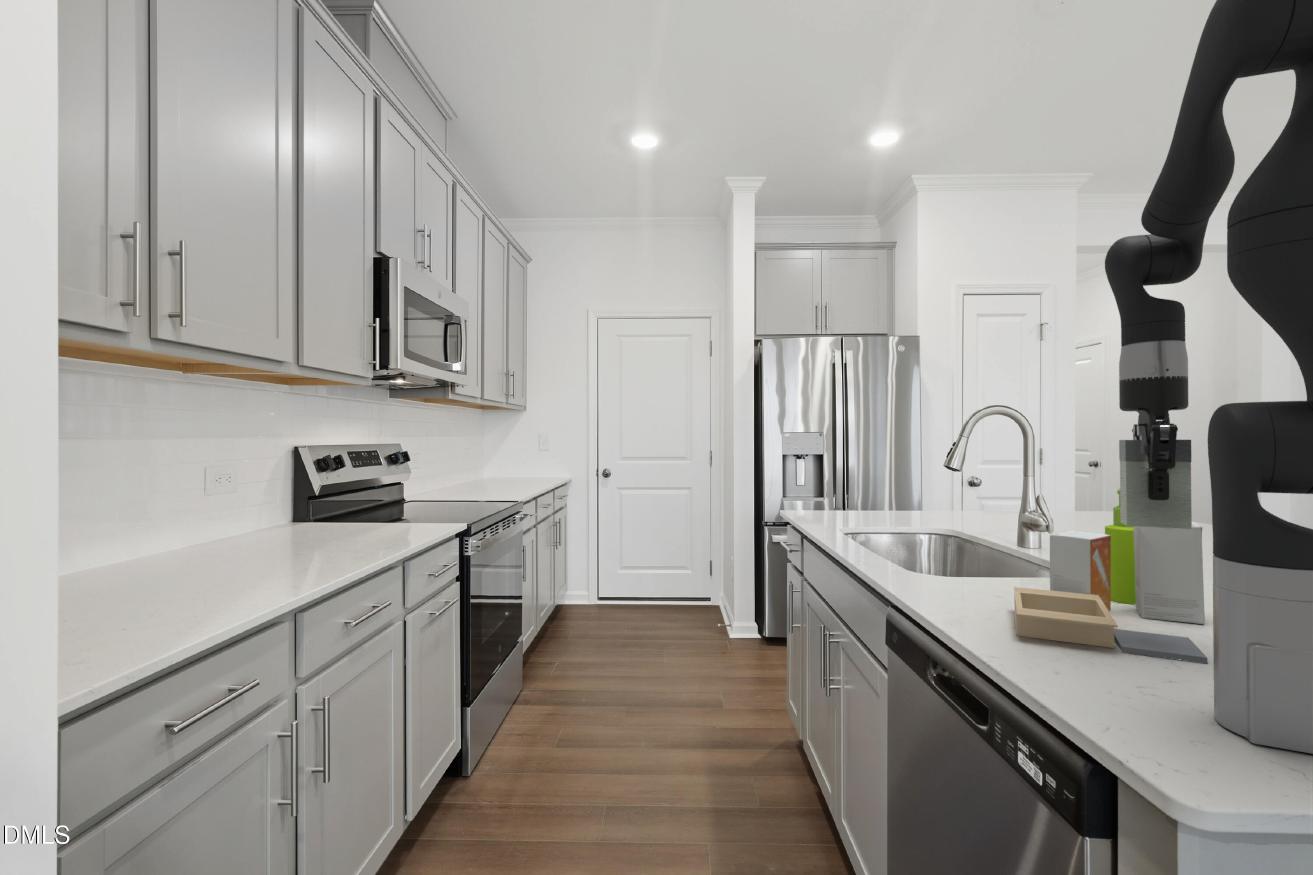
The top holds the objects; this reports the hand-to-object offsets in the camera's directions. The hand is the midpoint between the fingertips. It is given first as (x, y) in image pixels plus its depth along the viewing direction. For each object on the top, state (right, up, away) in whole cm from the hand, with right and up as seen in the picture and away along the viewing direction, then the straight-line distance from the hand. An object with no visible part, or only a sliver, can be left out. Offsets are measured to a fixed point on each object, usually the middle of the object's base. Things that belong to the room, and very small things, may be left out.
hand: (1153, 497), depth 85 cm
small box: (+2, -21, +18) cm, 28 cm away
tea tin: (0, -4, 0) cm, 4 cm away
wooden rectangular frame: (-8, -21, +8) cm, 24 cm away
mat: (0, -21, 0) cm, 21 cm away
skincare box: (+14, -21, +14) cm, 29 cm away
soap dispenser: (+15, -21, +25) cm, 36 cm away
